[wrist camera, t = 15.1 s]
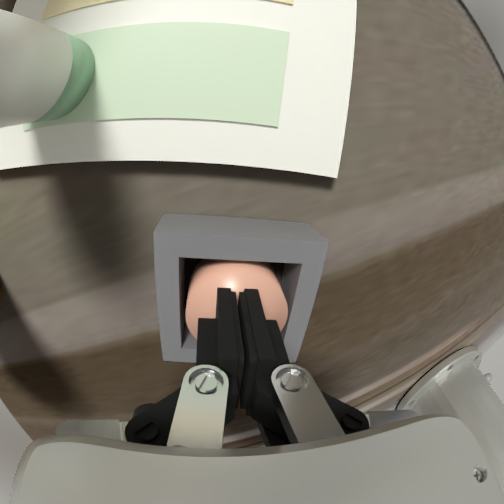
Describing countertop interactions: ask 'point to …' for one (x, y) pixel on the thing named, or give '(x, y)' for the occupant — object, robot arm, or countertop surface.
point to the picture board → (200, 84)
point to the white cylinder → (40, 71)
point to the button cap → (233, 289)
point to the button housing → (234, 248)
